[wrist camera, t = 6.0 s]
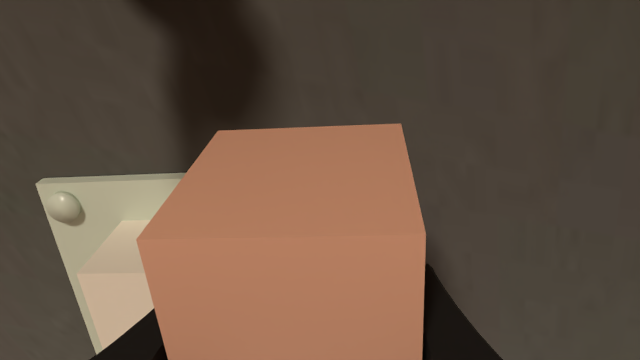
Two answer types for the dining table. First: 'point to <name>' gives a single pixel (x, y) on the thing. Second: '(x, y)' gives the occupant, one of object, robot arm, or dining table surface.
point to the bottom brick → (116, 283)
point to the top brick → (291, 248)
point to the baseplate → (98, 216)
